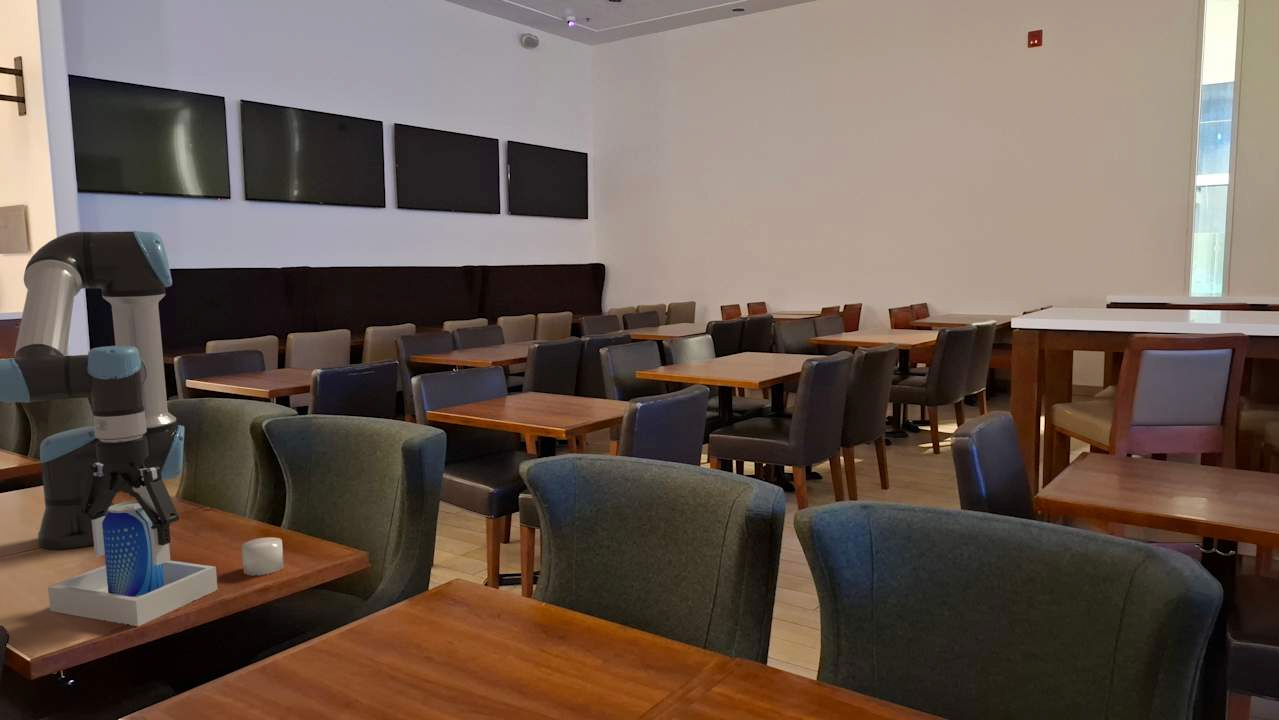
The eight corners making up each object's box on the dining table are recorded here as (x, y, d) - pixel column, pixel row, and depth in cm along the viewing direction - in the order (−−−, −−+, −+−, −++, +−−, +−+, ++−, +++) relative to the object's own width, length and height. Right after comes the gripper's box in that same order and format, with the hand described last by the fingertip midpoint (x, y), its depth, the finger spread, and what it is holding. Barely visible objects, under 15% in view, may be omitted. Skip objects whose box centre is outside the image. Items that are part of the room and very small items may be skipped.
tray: (50, 611, 146) (47, 586, 145) (134, 577, 161) (132, 555, 160) (138, 626, 139) (135, 600, 138) (217, 590, 154) (215, 566, 153)
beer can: (97, 603, 146) (88, 511, 145) (134, 585, 155) (127, 498, 153) (140, 606, 145) (132, 513, 143) (176, 588, 153) (168, 499, 151)
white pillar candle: (235, 573, 162) (233, 547, 162) (263, 560, 169) (261, 535, 168) (264, 577, 160) (262, 551, 159) (291, 564, 166) (290, 539, 166)
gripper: (47, 437, 147) (60, 557, 150) (157, 447, 139) (168, 574, 141) (88, 429, 154) (100, 543, 157) (195, 437, 146) (205, 558, 148)
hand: (132, 558), depth 149 cm, fingers open, 13 cm apart
